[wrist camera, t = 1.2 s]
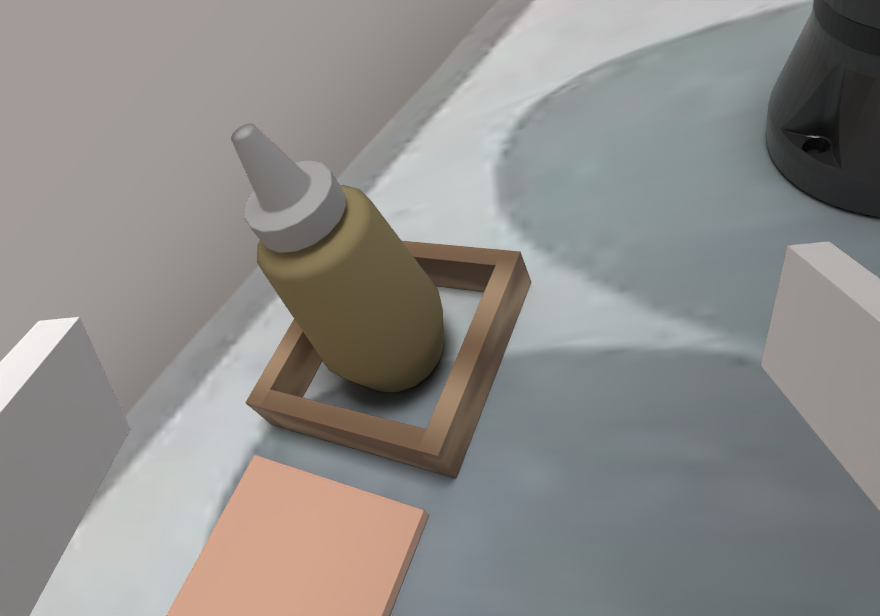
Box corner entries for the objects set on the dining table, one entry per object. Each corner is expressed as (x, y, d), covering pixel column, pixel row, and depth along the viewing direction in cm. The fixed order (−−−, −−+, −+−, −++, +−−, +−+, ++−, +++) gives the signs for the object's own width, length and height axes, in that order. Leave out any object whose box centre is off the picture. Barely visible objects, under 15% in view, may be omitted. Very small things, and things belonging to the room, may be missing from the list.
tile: (261, 460, 39) (254, 454, 38) (429, 515, 33) (423, 510, 33) (149, 667, 33) (138, 665, 33) (326, 776, 28) (317, 776, 27)
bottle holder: (360, 262, 46) (342, 235, 44) (531, 281, 40) (520, 251, 38) (271, 424, 40) (245, 402, 38) (456, 478, 34) (437, 455, 32)
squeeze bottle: (487, 338, 39) (366, 96, 25) (395, 435, 37) (211, 230, 23) (405, 284, 44) (267, 57, 30) (321, 367, 42) (133, 166, 28)
